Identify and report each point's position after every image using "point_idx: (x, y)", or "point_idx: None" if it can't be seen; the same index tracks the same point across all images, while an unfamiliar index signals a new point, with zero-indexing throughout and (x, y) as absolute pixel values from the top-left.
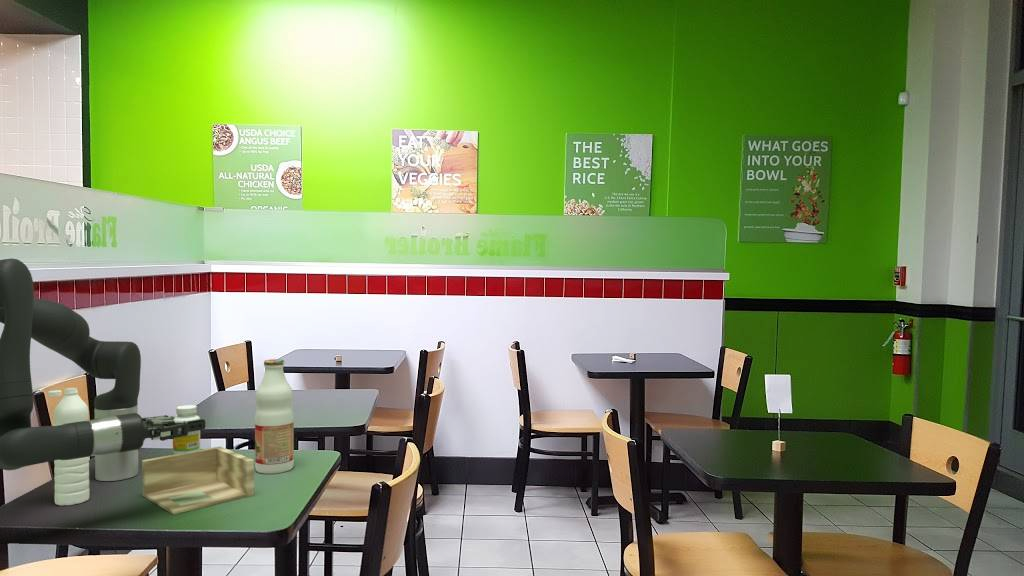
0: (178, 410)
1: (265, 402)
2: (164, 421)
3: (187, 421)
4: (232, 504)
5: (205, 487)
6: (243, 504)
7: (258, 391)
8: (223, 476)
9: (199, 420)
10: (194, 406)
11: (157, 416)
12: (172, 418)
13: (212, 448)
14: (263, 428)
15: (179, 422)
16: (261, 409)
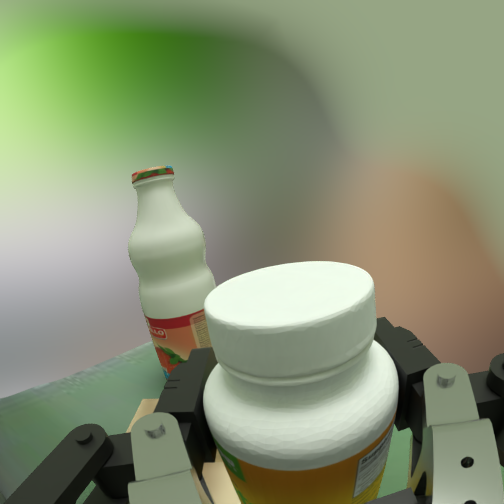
0: (330, 336)
1: (180, 259)
2: (501, 492)
3: (434, 365)
4: (389, 475)
5: (222, 498)
6: (402, 456)
7: (151, 240)
8: (216, 453)
9: (395, 329)
10: (309, 264)
11: (38, 467)
12: (183, 437)
13: (143, 413)
14: (192, 318)
15: (462, 401)
16: (171, 279)
